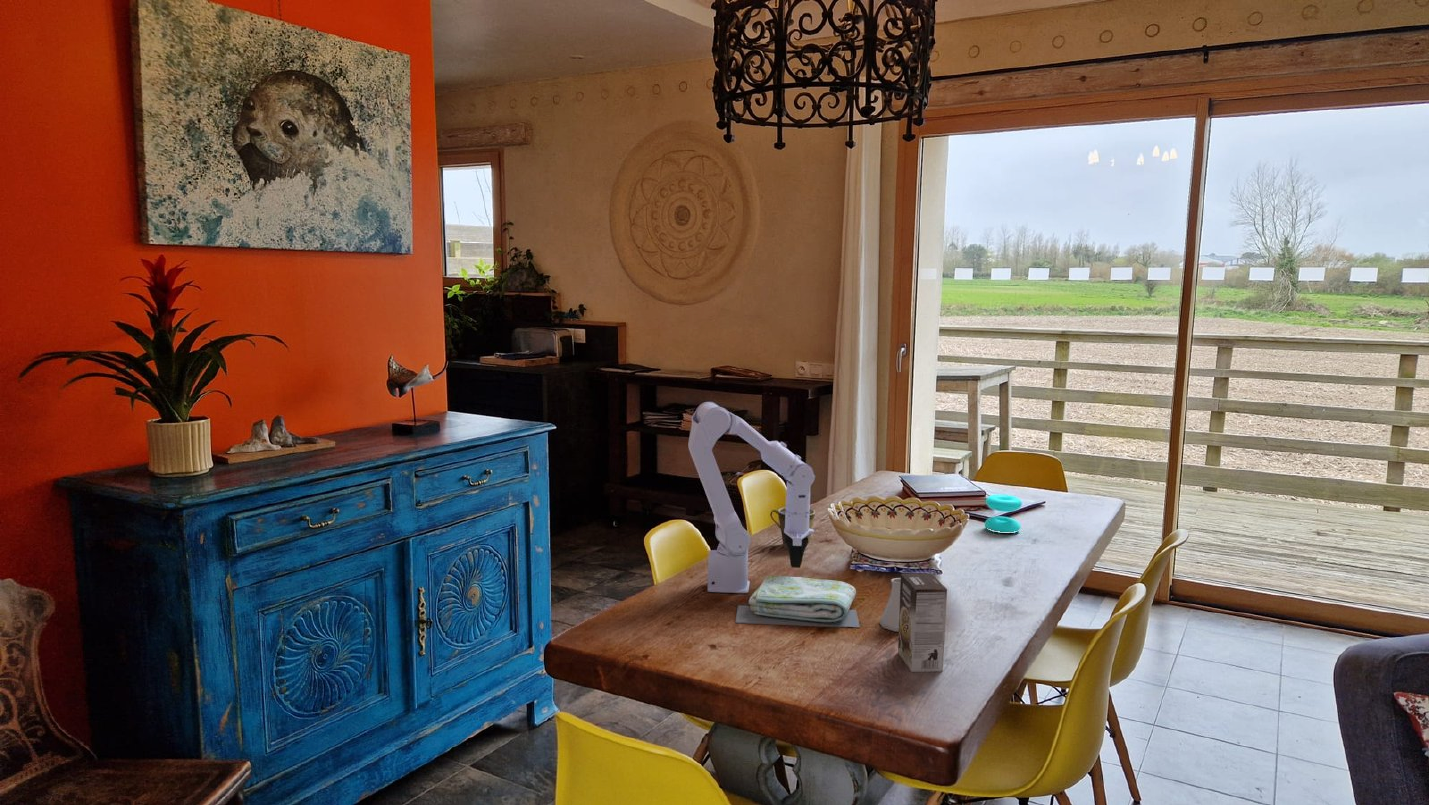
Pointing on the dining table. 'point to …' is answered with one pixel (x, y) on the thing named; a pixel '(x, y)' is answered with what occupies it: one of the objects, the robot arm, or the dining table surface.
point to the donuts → (1006, 505)
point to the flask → (892, 608)
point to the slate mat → (749, 617)
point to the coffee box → (922, 622)
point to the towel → (802, 598)
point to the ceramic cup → (782, 523)
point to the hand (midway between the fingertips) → (795, 566)
